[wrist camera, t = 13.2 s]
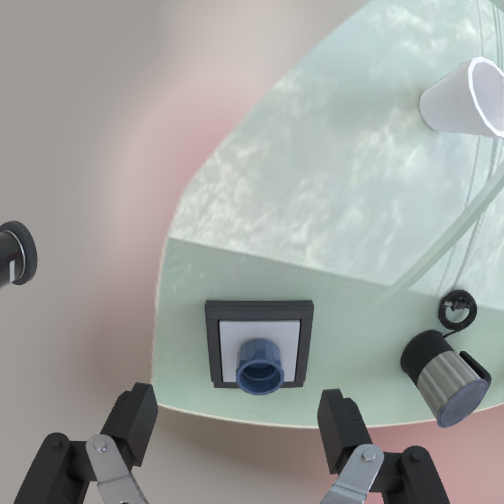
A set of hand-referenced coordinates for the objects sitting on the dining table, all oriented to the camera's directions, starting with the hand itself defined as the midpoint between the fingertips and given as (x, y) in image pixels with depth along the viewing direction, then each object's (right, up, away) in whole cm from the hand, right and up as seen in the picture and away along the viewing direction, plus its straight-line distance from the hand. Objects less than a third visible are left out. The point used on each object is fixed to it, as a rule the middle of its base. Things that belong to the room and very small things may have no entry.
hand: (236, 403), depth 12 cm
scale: (+2, -6, +27) cm, 28 cm away
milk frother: (+32, -7, +28) cm, 43 cm away
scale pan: (+2, -6, +25) cm, 26 cm away
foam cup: (+27, +27, +18) cm, 42 cm away
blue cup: (+2, -7, +24) cm, 25 cm away
